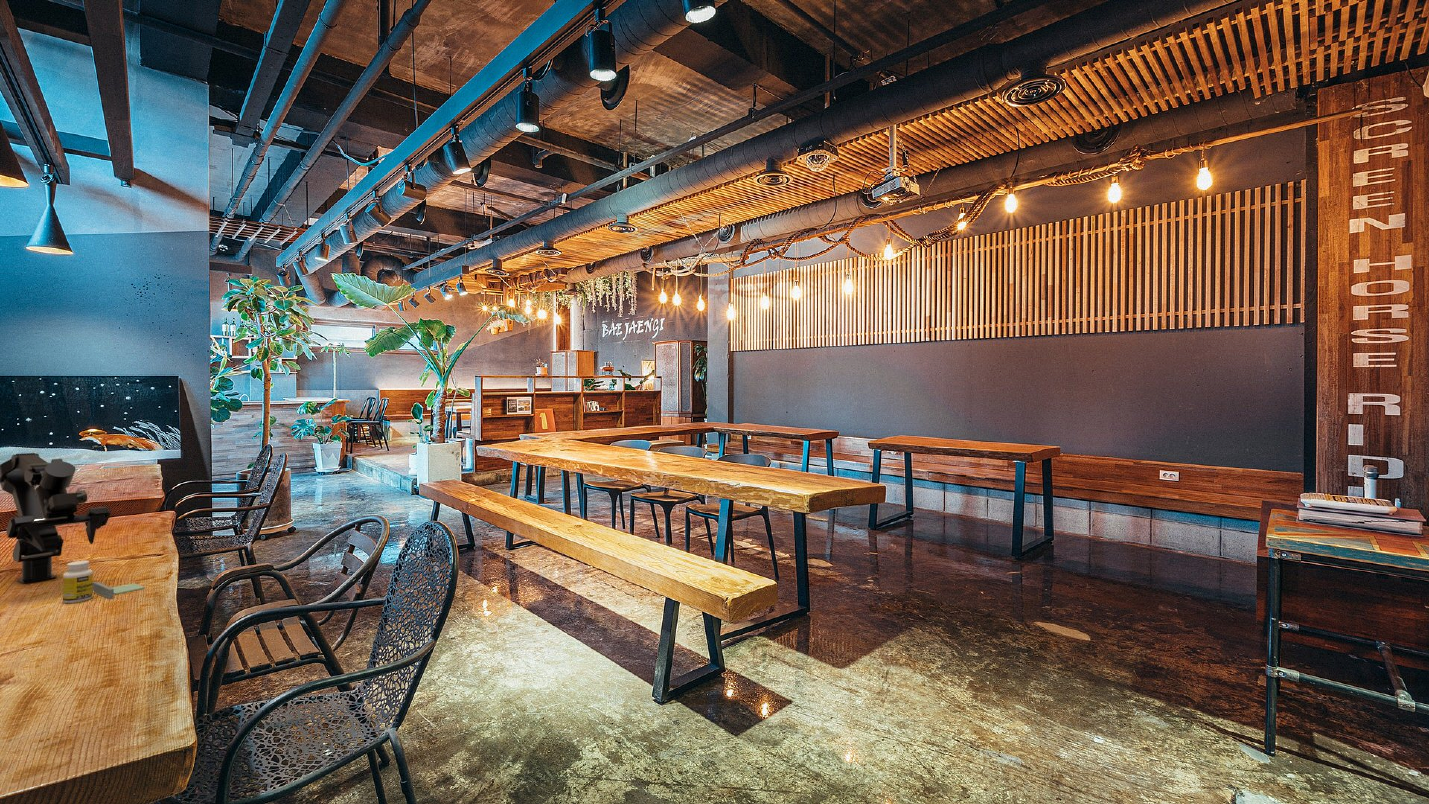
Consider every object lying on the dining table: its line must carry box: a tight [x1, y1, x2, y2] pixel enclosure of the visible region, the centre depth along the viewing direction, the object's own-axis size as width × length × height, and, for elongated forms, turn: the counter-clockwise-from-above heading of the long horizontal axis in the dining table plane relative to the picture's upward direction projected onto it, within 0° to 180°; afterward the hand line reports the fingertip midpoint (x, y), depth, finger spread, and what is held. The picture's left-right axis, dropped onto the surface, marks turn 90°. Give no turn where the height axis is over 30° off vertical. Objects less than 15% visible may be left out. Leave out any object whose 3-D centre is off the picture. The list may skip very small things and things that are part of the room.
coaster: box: [111, 582, 145, 595], centre depth 169 cm, size 7×6×1 cm
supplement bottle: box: [62, 560, 94, 604], centre depth 160 cm, size 5×5×10 cm
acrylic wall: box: [93, 581, 115, 600], centre depth 164 cm, size 12×1×2 cm, turn 60°
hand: (68, 546), depth 163 cm, fingers open, 9 cm apart
